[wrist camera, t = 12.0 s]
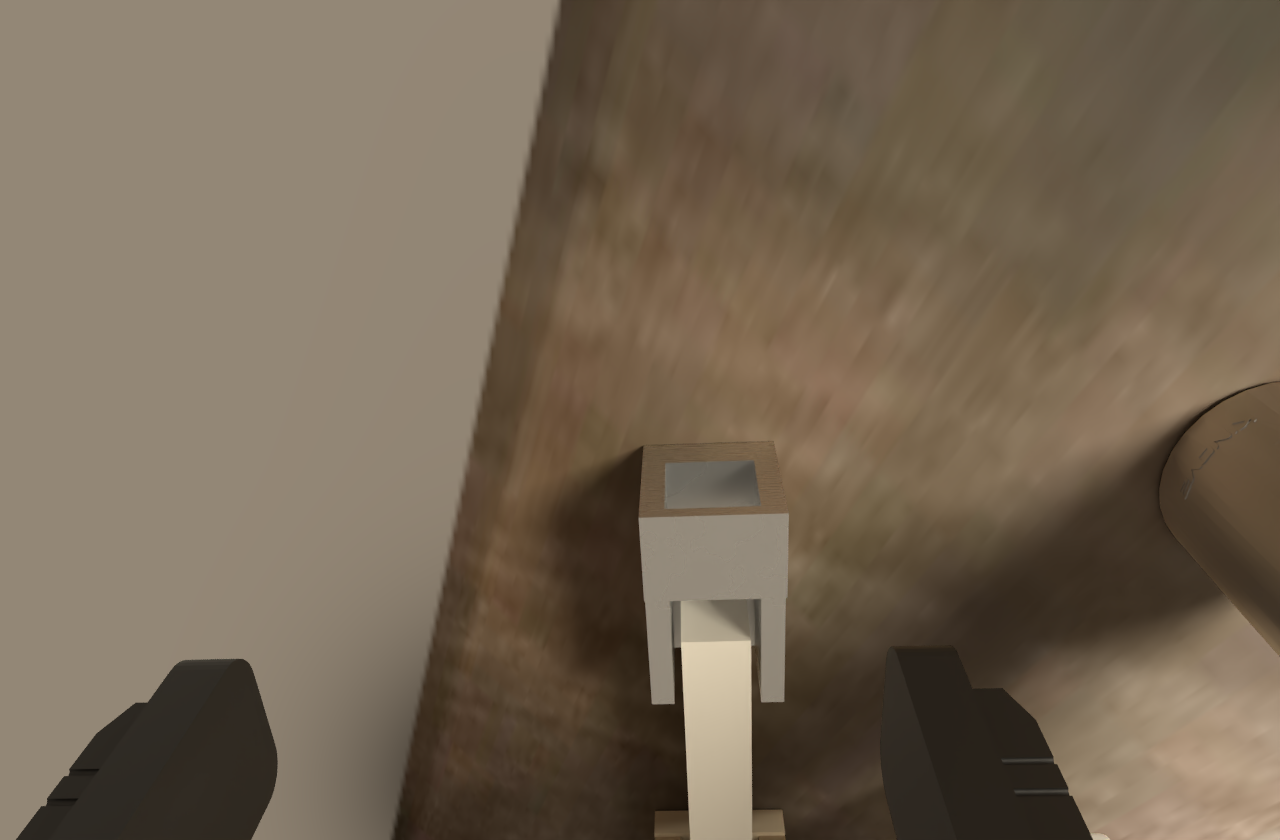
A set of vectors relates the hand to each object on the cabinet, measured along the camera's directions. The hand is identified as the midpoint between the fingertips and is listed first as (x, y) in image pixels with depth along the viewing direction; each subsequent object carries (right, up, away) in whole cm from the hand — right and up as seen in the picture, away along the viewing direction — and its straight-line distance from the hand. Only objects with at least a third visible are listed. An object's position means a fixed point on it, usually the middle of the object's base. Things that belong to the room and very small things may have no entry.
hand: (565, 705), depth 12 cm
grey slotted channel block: (+4, -2, +32) cm, 32 cm away
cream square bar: (+5, -13, +35) cm, 37 cm away
